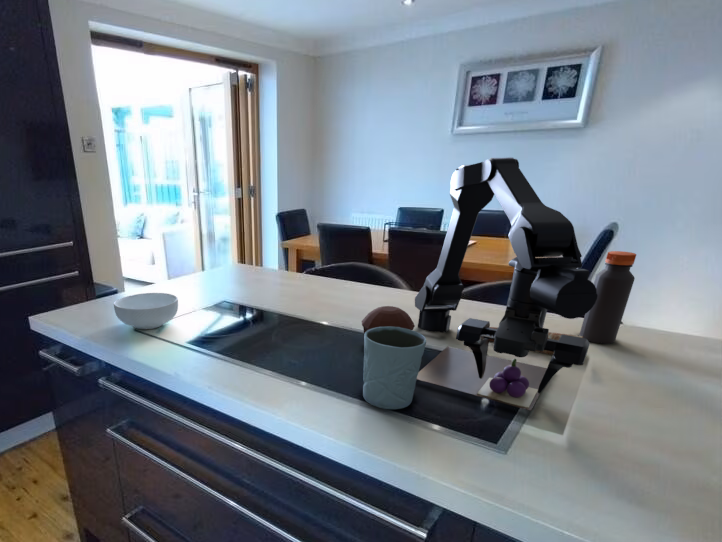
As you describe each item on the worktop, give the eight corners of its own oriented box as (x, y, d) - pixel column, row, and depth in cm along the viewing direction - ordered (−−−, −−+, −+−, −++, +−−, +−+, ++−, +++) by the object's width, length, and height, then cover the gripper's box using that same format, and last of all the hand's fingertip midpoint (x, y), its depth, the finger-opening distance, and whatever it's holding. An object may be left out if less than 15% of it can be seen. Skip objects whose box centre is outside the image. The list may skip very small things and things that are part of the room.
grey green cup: (355, 385, 84) (359, 326, 80) (408, 384, 84) (415, 325, 79) (365, 412, 75) (371, 347, 70) (425, 412, 75) (435, 346, 70)
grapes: (486, 392, 78) (492, 360, 75) (494, 381, 81) (501, 350, 79) (522, 402, 74) (530, 368, 72) (528, 389, 78) (536, 357, 76)
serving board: (411, 383, 84) (412, 376, 84) (446, 351, 98) (447, 345, 98) (529, 416, 72) (531, 409, 72) (550, 374, 86) (552, 368, 86)
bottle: (608, 335, 105) (634, 250, 97) (619, 345, 99) (648, 256, 91) (575, 332, 107) (598, 249, 99) (584, 342, 101) (609, 255, 93)
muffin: (371, 338, 107) (374, 298, 103) (417, 347, 101) (423, 305, 97) (351, 354, 98) (354, 311, 94) (400, 365, 92) (405, 320, 88)
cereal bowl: (192, 320, 122) (190, 296, 120) (149, 339, 110) (145, 312, 107) (148, 312, 131) (145, 288, 128) (103, 328, 118) (99, 303, 115)
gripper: (452, 301, 71) (439, 386, 77) (593, 323, 60) (565, 421, 66) (473, 287, 79) (459, 365, 85) (601, 304, 68) (575, 393, 74)
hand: (509, 384), depth 77 cm, fingers open, 9 cm apart
